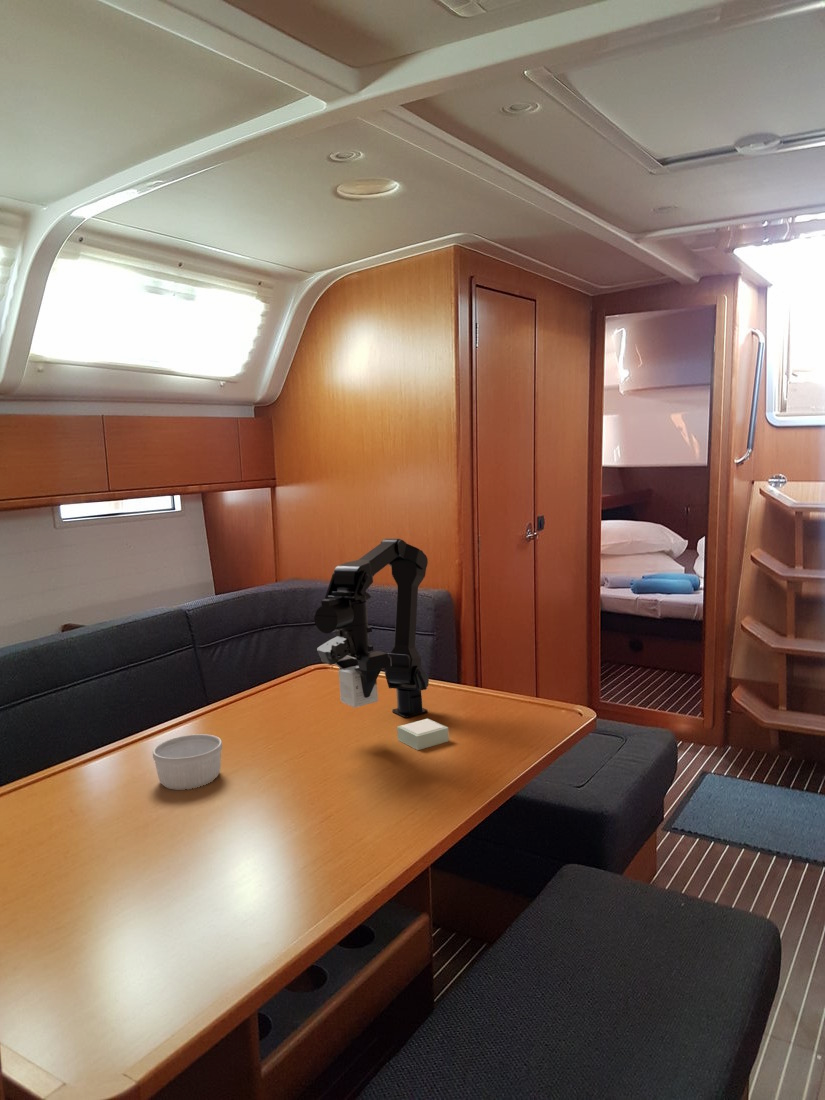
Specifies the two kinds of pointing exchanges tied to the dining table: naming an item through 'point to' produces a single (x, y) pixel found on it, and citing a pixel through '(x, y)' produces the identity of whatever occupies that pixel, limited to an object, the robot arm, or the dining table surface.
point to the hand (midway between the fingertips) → (359, 694)
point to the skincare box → (354, 688)
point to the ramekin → (188, 761)
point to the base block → (423, 734)
